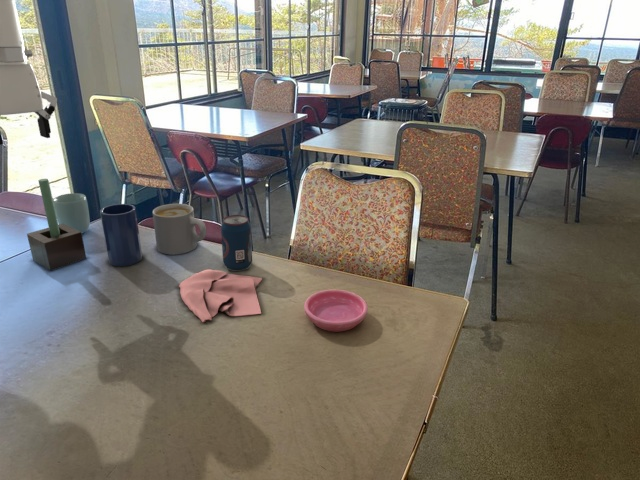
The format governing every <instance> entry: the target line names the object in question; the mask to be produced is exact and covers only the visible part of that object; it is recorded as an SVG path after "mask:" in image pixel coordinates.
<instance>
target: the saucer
mask: <svg viewBox="0 0 640 480" xmlns="http://www.w3.org/2000/svg"><path fill="white" fill-rule="evenodd" d="M303 310H304V311H303V312H304V313H305V316H306V317H307V318H308V320H309V321H310V322H312V323H313V324H314V325H315V326H317V327H318V328H320V329H322V330H324V331H328V332H337V333H338V332H339V333H340V332H345V331H346V332H347V331H349V330H352V329H354V328H355V327H356V326H358V325H359V324H361V322H362V321H363V320H365V319H366V317H367V316H368V312H369V307H368V304H367V302H366V300H365V299H364V298H363V297H361V296H360V295H358V294H357V293H354V292H352V291H350V290H349V291H348V290H344V289H326V290H320V291H317V292H315V293H313V294H311V295H309V297H308V298H306V300H305V301H304V305H303Z"/></svg>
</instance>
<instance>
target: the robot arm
mask: <svg viewBox="0 0 640 480" xmlns="http://www.w3.org/2000/svg"><path fill="white" fill-rule="evenodd" d="M16 3H17V2H16V0H0V117H1V116H9V115H10V116H11V115H20V114H30V113H34V114H36V116H38V117H37V124H38V131H39V134H40V137H42V138H46V139H50V138H51V132H52V131H51V126H50V119H51V118H52V117H51V116H52V115H53V114H54V112H55V110H56V109H55V107H56V106H57V102H58V98H57V97H56V96H54V95H51V94H49V93H46V92H43V91H41V88H40V86H39V82H38V79H37V76H36V73H35V71H34V69H33V66H32V64H31V63H30V62H28V60H29V58H33V51H32V50H31V49H26V46H25V44H24V38H23V34H22V28H21V24H20V19H19V13H18V9H17V4H16ZM43 100H46V101H47V105H46V106H45V108H44V101H43ZM2 137H3V136H2V132H1V131H0V146H1V145H3V144H4V141H3V138H2Z"/></svg>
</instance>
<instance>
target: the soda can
mask: <svg viewBox="0 0 640 480" xmlns="http://www.w3.org/2000/svg"><path fill="white" fill-rule="evenodd" d="M251 224H252V223H251V222H250V221H249V217H248V216H246V215H242V214H231V215H228V216H225V217H224V218H223V219H222V223H221V225H220V234H221V235H220V237H221V251H222V252H221V253H222V263H223V265H224V266H225V268H226V269H227V270H229V271H233V272H243V271H246V270H248V269H249V268H250V266H251V265H252V263H253V239H252V238H253V237H252V236H253V235H252V225H251Z"/></svg>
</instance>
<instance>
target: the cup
mask: <svg viewBox="0 0 640 480" xmlns="http://www.w3.org/2000/svg"><path fill="white" fill-rule="evenodd" d="M53 203H54V208H55V212H56V217H57V222H58V225H59V224H65V225H68V226H70V227H72V228H74V229H76V230H78V231H80V232H81V233H82V234H84V233H86V232H87V231H88V230H89V229H90V225H91V217H90V209H89V203H88V199H87V196H86V195H85V194H84V193H77V192H76V193H75V192H74V193H65V194H64V193H63V194H60V195H57V196H56V197H54V198H53Z"/></svg>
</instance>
